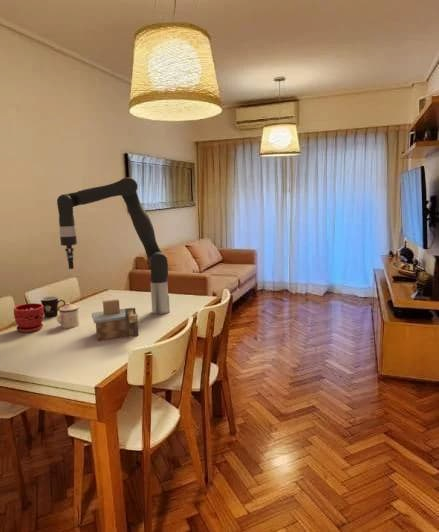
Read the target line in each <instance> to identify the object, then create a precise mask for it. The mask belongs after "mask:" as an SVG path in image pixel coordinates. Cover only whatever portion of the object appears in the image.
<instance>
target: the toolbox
mask: <svg viewBox="0 0 439 532" xmlns="http://www.w3.org/2000/svg"><path fill="white" fill-rule="evenodd" d="M124 309H125V315H126V319H124V320H117V321H109V322H102V323H95V330H96V338H97V339H96V340H97V342H101V341H109V340H115V339H123V338H127V339H129V338H131V337H135V338H136V337H138V336H139V325H138V320H139V319H138V318H136V320H137V322H132V323H130V322H129V319H128V311H131V310H133V314H134V315H135V314H136V313H137V312H136V307H128V309H126V308H124Z"/></svg>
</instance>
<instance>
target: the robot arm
mask: <svg viewBox="0 0 439 532" xmlns="http://www.w3.org/2000/svg"><path fill="white" fill-rule="evenodd" d="M138 186H139V185H138V183H137V181H136V180H135V179H134V178H133V177H128V176H127V177H123V178H121V179H120V180H118V181H116V182H113V183H109V184H105V185H102V186H94V187H91V188H85V189H82V190H77V191H76V192H70V193H67V194H66V193H65V194H61V195H59V196H58V197H57V199H56V204H57V211H58V224H59V238H60V241H59V242H60V245H61V246H66V248H65V249H64V250H65V255H66V258H67V263H68V269H69V270H73V269H74V267H75V266H74V257H75V255H74V253H75V249H74V248H75V247H73V246H75V245H77V244H78V240H77V231H76V226H75V225H76V223H75V217H74V207H78V206H84V205H89V204H92V203H96V202H99V201H102V200H105V199H109V198H114V197H119V196H121V198H122V199H123V201H124V202H125V205H126V207H127V210H128V214H129V217H130V219H131V222H132V225H133V228H134V230H135V232H136V234H137V236H138V238H139V240H140V242H141V244H142V247H143V248H144V252H145V255H146V257H147V261H148V262H147V263H148V264H149V266H150V277H149V278H150V280H149V281H150V296H151V297H150V298H151V313H152V314H155V315H160V314H161V315H162V314H167V313H170V311H171V310H170V309H171V308H170V296H169V289H168V288H169V286H168V284H169V283H168V276H169V264H168V258H167V256H166V255H165V254H164V253H163V252H162V251H161V249H160V248H159V245H158V243H157V240H156V235H155V230H154V227H153V223H152V221H151V218H150V217H149V214H148V213H147V211H146V208H144V206H143V205H142V203H141V201H140V198H139V196H138V192H137V190H138V188H139V187H138Z"/></svg>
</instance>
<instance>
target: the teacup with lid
mask: <svg viewBox="0 0 439 532" xmlns="http://www.w3.org/2000/svg"><path fill="white" fill-rule="evenodd" d="M58 309H59V310H58V312H59V314H58V315H57V316H56V318H57V319H56V321H57V323H58V324H60V327H61V328H63V329H71V328H76V327H78V326H79V325H80V320H79V318H80V316H79V307H78V306H77V305H73V304H71V302H65V305H64V306H63V305H62V306H61V307H60V308H58Z"/></svg>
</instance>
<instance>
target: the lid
mask: <svg viewBox="0 0 439 532" xmlns="http://www.w3.org/2000/svg"><path fill="white" fill-rule="evenodd" d="M120 307H121V306H120V299H112V300H111V299H110V300H103V301H102V308H103V311H95V312H91V318H92V319H93V320H92V321H93V323H94V324H95V325H96V323H102V322H109V321H117V320H124V319H126V315H125V309H128V308H129V307H128V308H120ZM132 312H133V310H132ZM136 318H137V319H138V318H139V317H138V313H137V312H136ZM128 319H129V316H128Z"/></svg>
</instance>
